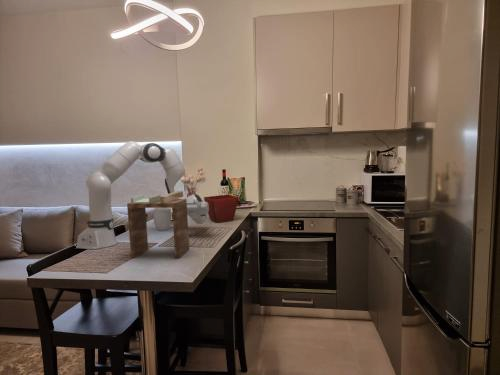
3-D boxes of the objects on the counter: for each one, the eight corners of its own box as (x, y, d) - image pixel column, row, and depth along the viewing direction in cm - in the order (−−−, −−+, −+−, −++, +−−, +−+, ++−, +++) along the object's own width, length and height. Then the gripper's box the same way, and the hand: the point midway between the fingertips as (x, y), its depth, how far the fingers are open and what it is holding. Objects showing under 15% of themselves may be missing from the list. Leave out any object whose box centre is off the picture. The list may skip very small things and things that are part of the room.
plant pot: (204, 219, 250) (203, 196, 248) (229, 216, 258) (228, 194, 256) (213, 224, 233) (211, 199, 231) (239, 221, 241) (238, 197, 239)
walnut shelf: (131, 257, 165) (127, 203, 162) (144, 249, 179) (141, 199, 176) (179, 258, 161) (176, 203, 158) (189, 249, 175) (186, 198, 172)
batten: (160, 203, 159) (160, 196, 159) (177, 196, 181) (177, 191, 181) (166, 203, 159) (166, 196, 159) (183, 196, 181) (183, 190, 180)
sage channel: (131, 203, 164) (130, 198, 164) (141, 199, 175) (141, 194, 174) (151, 202, 162) (150, 197, 162) (160, 199, 173) (160, 194, 173)
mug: (172, 225, 234) (171, 206, 232) (180, 228, 225) (179, 208, 224) (151, 229, 224) (150, 209, 223) (158, 232, 216) (157, 211, 214)
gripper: (177, 205, 205) (169, 196, 192) (211, 205, 202) (204, 196, 189) (176, 215, 203) (167, 207, 190) (210, 215, 199) (203, 207, 187)
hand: (186, 201), depth 190 cm, fingers open, 8 cm apart
